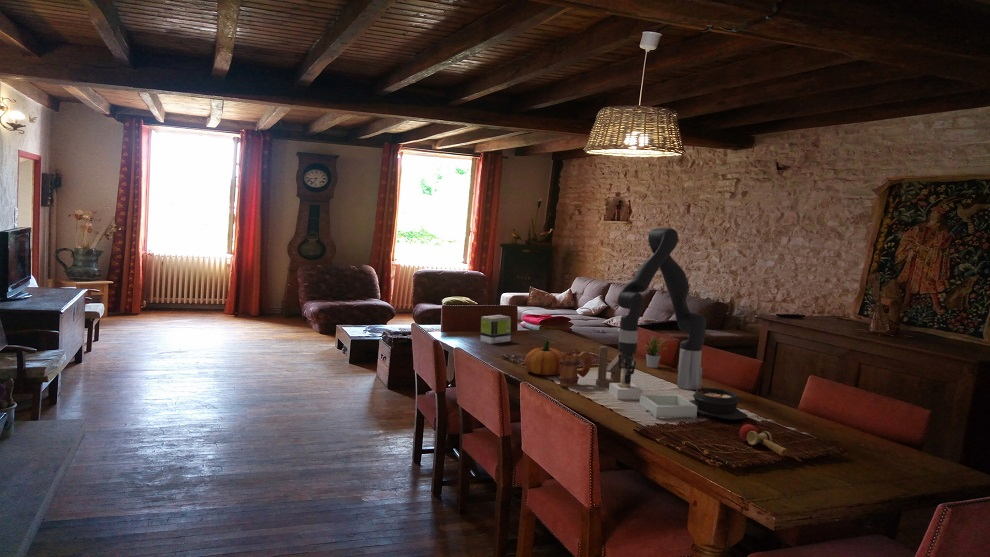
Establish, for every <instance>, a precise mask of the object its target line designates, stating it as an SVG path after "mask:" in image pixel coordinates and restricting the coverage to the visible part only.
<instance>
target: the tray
mask: <svg viewBox="0 0 990 557" xmlns="http://www.w3.org/2000/svg"><path fill="white" fill-rule="evenodd" d="M689 401H690V400H688V399H686V398H685V397H683V396H681V395H680V394H641V395H640V399H639V405H640V406H642V407H643V408H645V409H646V412H647V411H648V412H649V413H651V414H652V415H653V416H655V417H666V418H665V419H689V418H688V417H696V418H695V419H697V417H698V416H697V415H698V414H697V413H698V412H697V406H696V405H694V404H693V403H691V402H689ZM648 412H647V413H648ZM649 413H648V414H649ZM651 414H650V415H651ZM652 415H651V416H652ZM653 416H652V417H653ZM655 417H654V418H655ZM667 417H669V418H667ZM670 417H671V418H670ZM673 417H674V418H673ZM676 417H677V418H676ZM679 417H681V418H679ZM682 417H684V418H682ZM685 417H687V418H685Z"/></svg>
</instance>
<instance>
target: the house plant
mask: <svg viewBox="0 0 990 557" xmlns="http://www.w3.org/2000/svg"><path fill="white" fill-rule="evenodd" d="M642 339H643V340H644V341H645V343H646V344H647V345H646V344H644V346H645V347H643V349H644V350H645V351H647V353H646V354H645V356H646V358H645V359H646V367H647V368H652V369H657V368H658V367H659V363H660V359H661V354H659V353H660V352H661V351H663V350H664V351H666V350H667V348H665V347H660V346H663V344H665V343H668V342H666V341H668V340H670V339H669V338H667V339H664V337H661V338H660V339H658V341H657V338H656V335H655V334H653V336H651V337H650V340H651V341H650V344H649V342H648V341H647V339H645V338H644V337H642Z"/></svg>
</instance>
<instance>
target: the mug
mask: <svg viewBox="0 0 990 557" xmlns="http://www.w3.org/2000/svg"><path fill="white" fill-rule="evenodd" d="M580 361H582V362H583V366H582V368H581V369H578V365H579V363H580ZM559 363H560V364H561V373H560V374H559V377H558V379H557V381H558V382H559V384H560V386H562V387H565V388H569V387H574V386H577V385H578V381H579V379H580V377H582V378H584V377H586V376H587V375H588V374H589V372H590V369H591V366H592V359H591V357H590V354H589V353H588V352H587V351H584V350H583V351H581V352H580V353H579V354H576V353H573V352H563V353H562V359H561V360H560V362H559ZM579 376H580V377H579Z"/></svg>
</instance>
